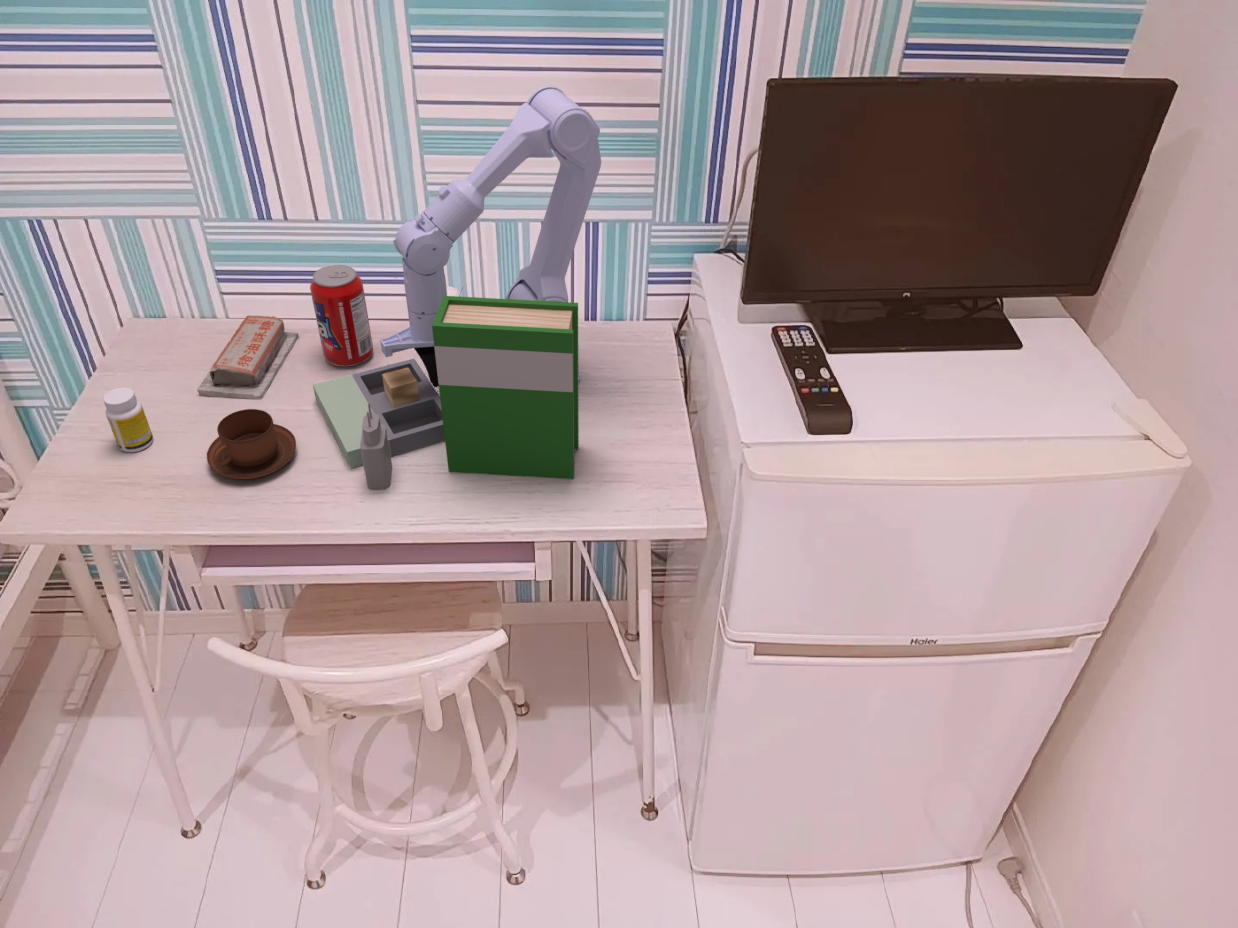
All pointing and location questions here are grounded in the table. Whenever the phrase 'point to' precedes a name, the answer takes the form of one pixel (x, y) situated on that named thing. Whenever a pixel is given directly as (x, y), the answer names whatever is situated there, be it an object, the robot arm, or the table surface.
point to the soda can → (341, 315)
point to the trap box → (380, 411)
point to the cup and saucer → (250, 445)
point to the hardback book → (508, 385)
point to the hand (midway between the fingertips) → (436, 383)
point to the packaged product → (249, 359)
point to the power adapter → (375, 452)
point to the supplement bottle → (127, 420)
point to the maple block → (401, 387)
